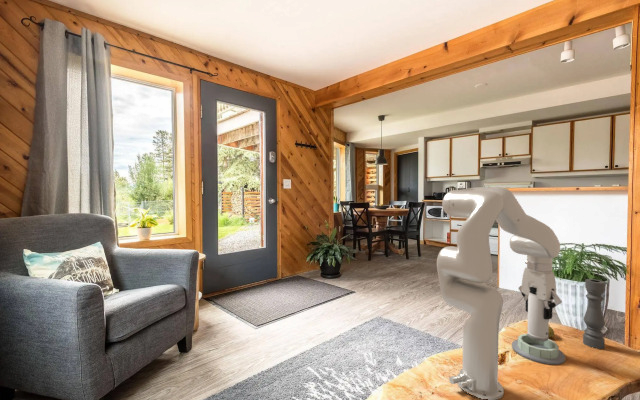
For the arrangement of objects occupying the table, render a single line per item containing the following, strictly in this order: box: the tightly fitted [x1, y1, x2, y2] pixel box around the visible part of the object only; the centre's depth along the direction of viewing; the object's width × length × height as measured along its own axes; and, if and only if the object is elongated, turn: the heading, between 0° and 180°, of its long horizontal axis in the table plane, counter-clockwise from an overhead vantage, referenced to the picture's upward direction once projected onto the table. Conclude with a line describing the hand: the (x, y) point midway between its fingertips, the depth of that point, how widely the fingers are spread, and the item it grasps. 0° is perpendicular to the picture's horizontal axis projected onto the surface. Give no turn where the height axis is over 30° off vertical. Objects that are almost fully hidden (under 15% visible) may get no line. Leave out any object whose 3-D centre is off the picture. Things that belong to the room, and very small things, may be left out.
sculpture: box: [548, 325, 555, 339], centre depth 126 cm, size 8×4×8 cm
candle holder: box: [582, 278, 606, 350], centre depth 117 cm, size 6×6×25 cm
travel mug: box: [526, 287, 550, 341], centre depth 112 cm, size 6×7×20 cm
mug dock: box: [511, 333, 566, 366], centre depth 112 cm, size 16×16×4 cm
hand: (538, 314), depth 112 cm, fingers closed on travel mug, 6 cm apart
